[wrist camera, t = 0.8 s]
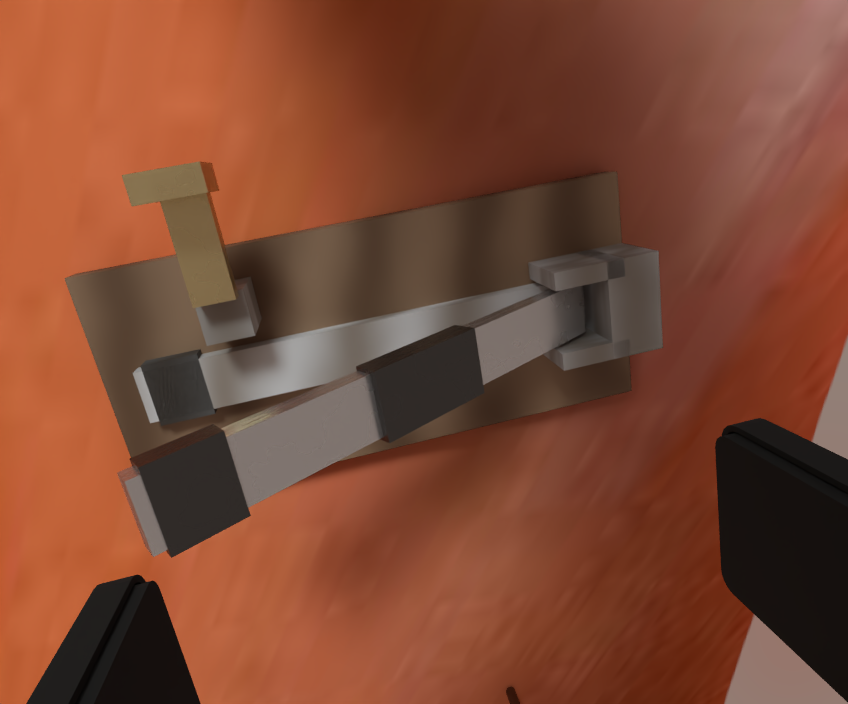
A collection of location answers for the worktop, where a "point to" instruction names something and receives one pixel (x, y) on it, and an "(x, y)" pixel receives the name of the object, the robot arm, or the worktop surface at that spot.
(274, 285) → the tong base
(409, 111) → the worktop surface
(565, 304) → the banded silver bar
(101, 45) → the worktop surface
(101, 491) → the worktop surface
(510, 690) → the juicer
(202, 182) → the lock bolt
